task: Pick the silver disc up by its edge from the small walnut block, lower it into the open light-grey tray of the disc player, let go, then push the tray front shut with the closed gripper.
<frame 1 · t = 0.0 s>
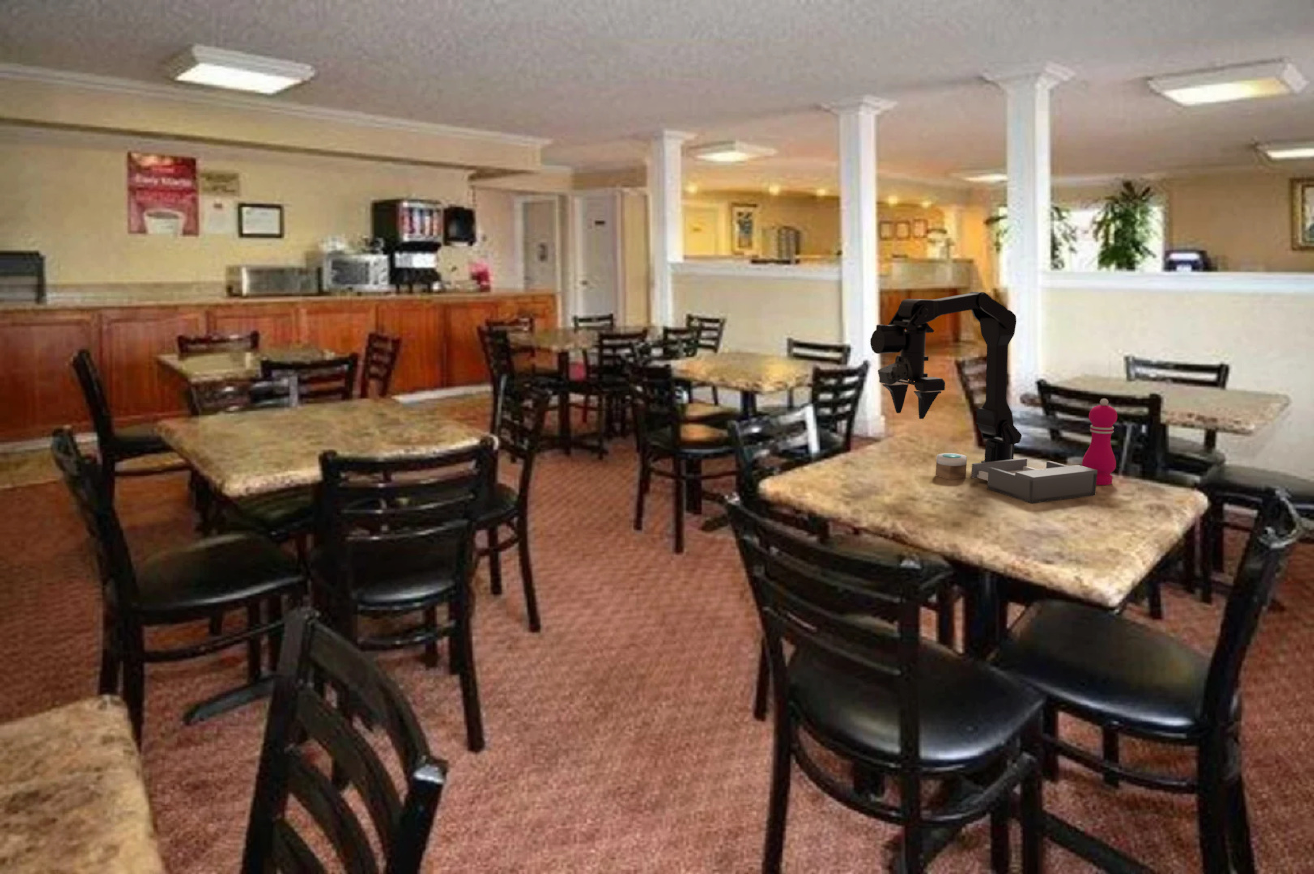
hand: (909, 415, 224), 15 cm above the table, tool pointing down, fingers open, 9 cm apart
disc: (951, 462, 223), point 3 cm above the table, touching block
pepper mill: (1097, 483, 217), on the table
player: (1040, 491, 209), on the table
block: (950, 476, 224), on the table
tray: (1018, 473, 215), point 3 cm above the table, slide at 6.0 cm
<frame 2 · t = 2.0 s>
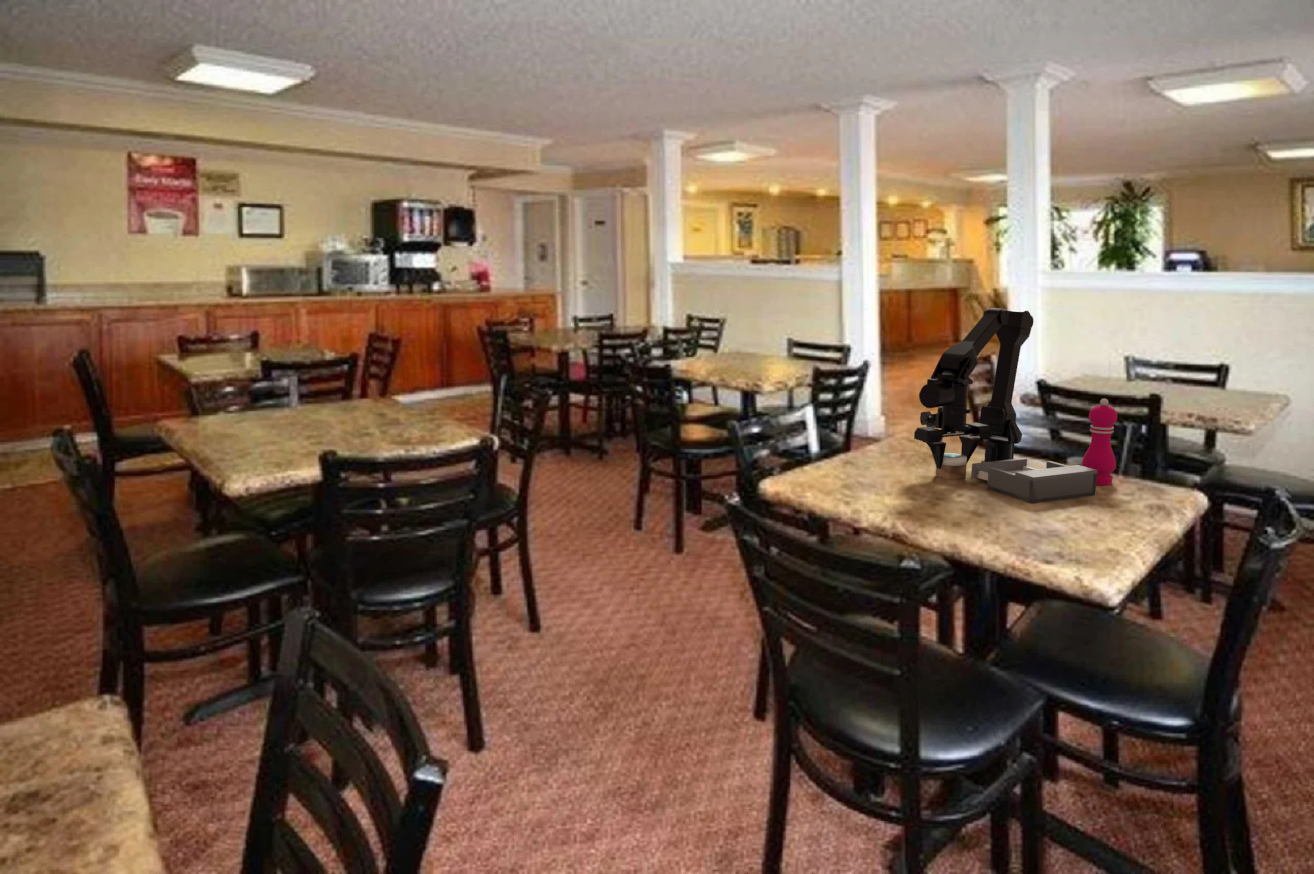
hand: (951, 467, 224), 2 cm above the table, tool pointing down, fingers closed on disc, 7 cm apart
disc: (951, 462, 223), point 4 cm above the table, touching block, gripper
everything else where it was.
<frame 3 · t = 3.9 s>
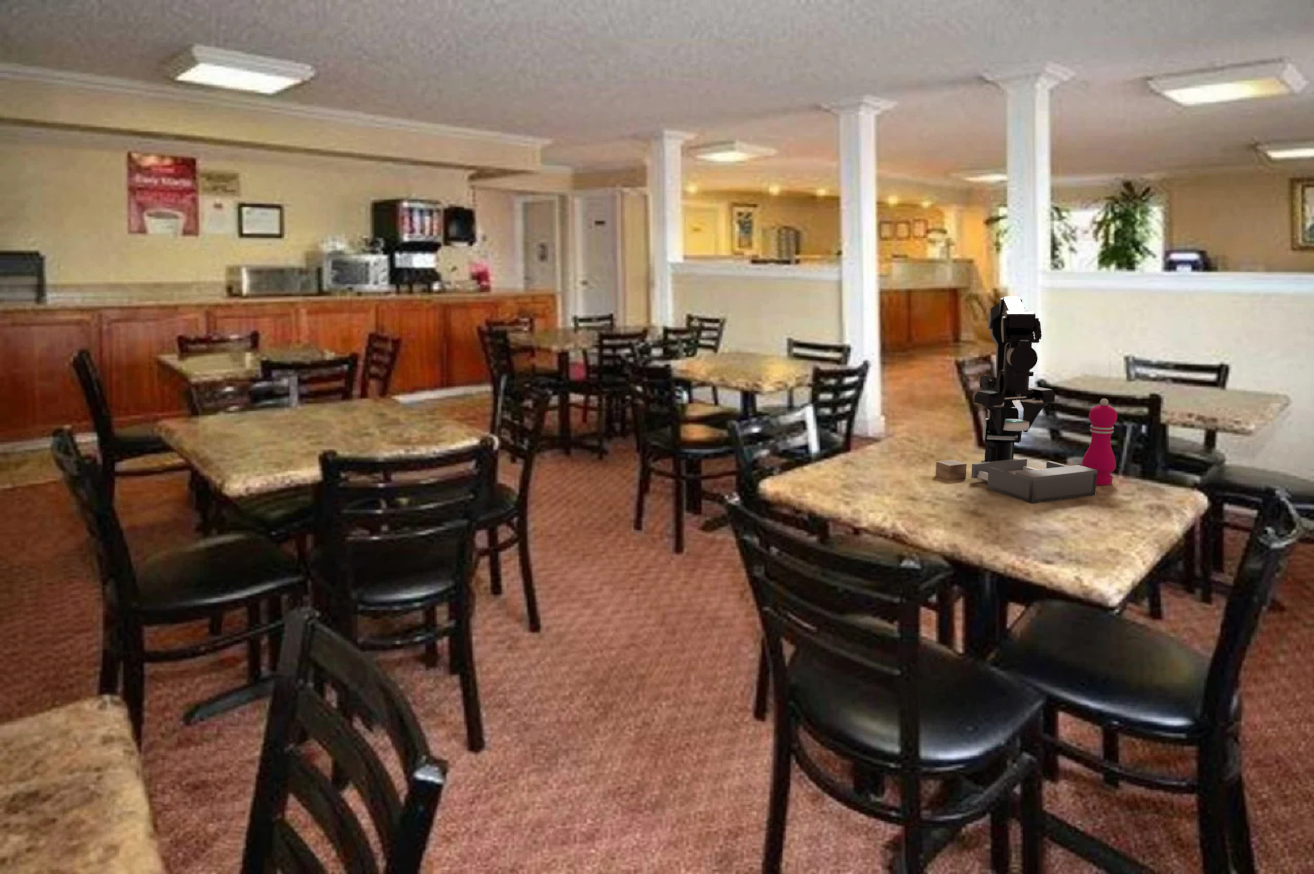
hand: (1012, 433, 215), 12 cm above the table, tool pointing down, fingers closed on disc, 7 cm apart
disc: (1012, 428, 214), point 13 cm above the table, touching gripper
everything else where it was.
when the fingers open (3 cm above the table, at t = 5.9 s): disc drops 2 cm, resting on tray.
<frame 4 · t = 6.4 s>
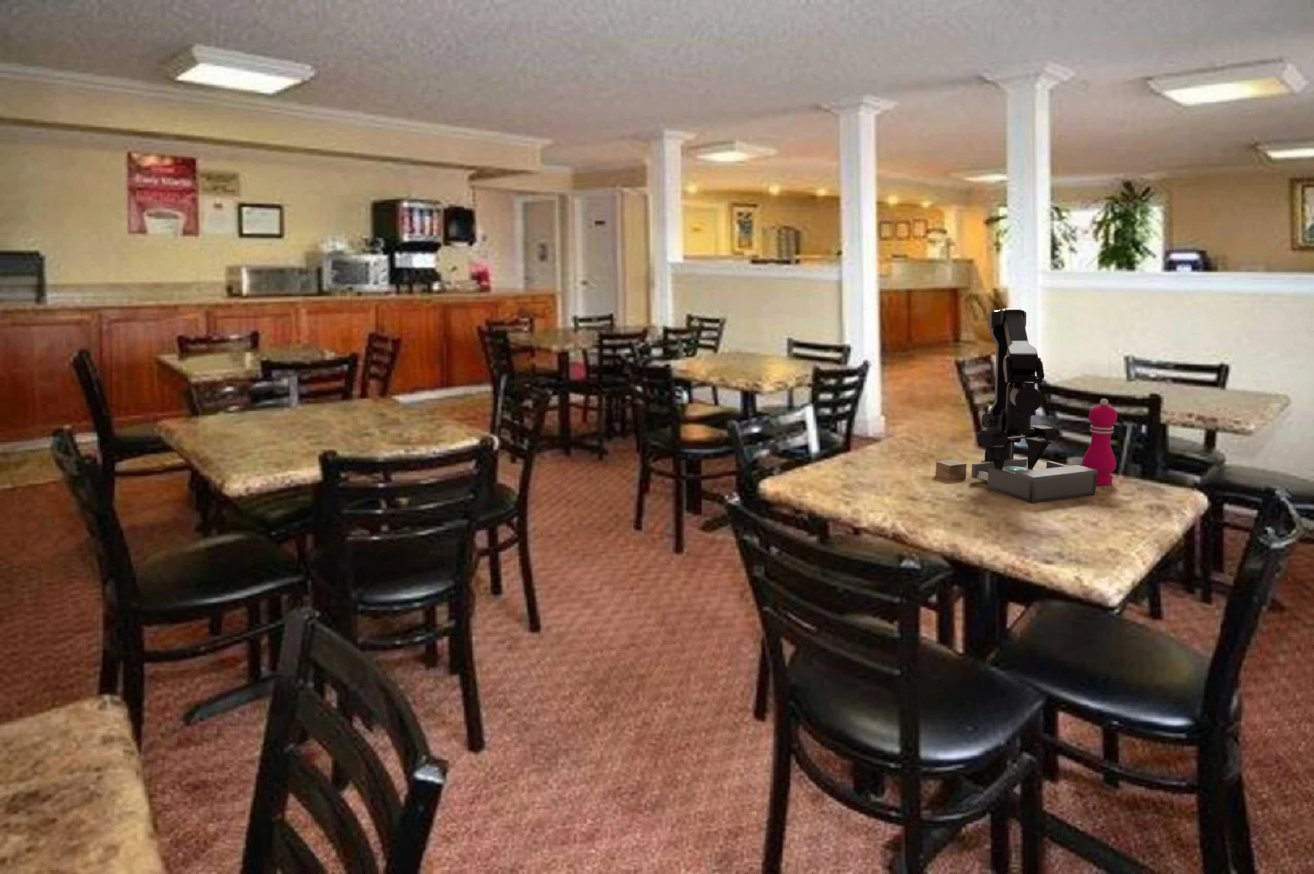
hand: (1014, 471, 216), 3 cm above the table, tool pointing down, fingers open, 9 cm apart
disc: (1014, 476, 216), point 2 cm above the table, touching tray
tray: (1018, 473, 215), point 3 cm above the table, slide at 6.0 cm, touching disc
everything else where it was.
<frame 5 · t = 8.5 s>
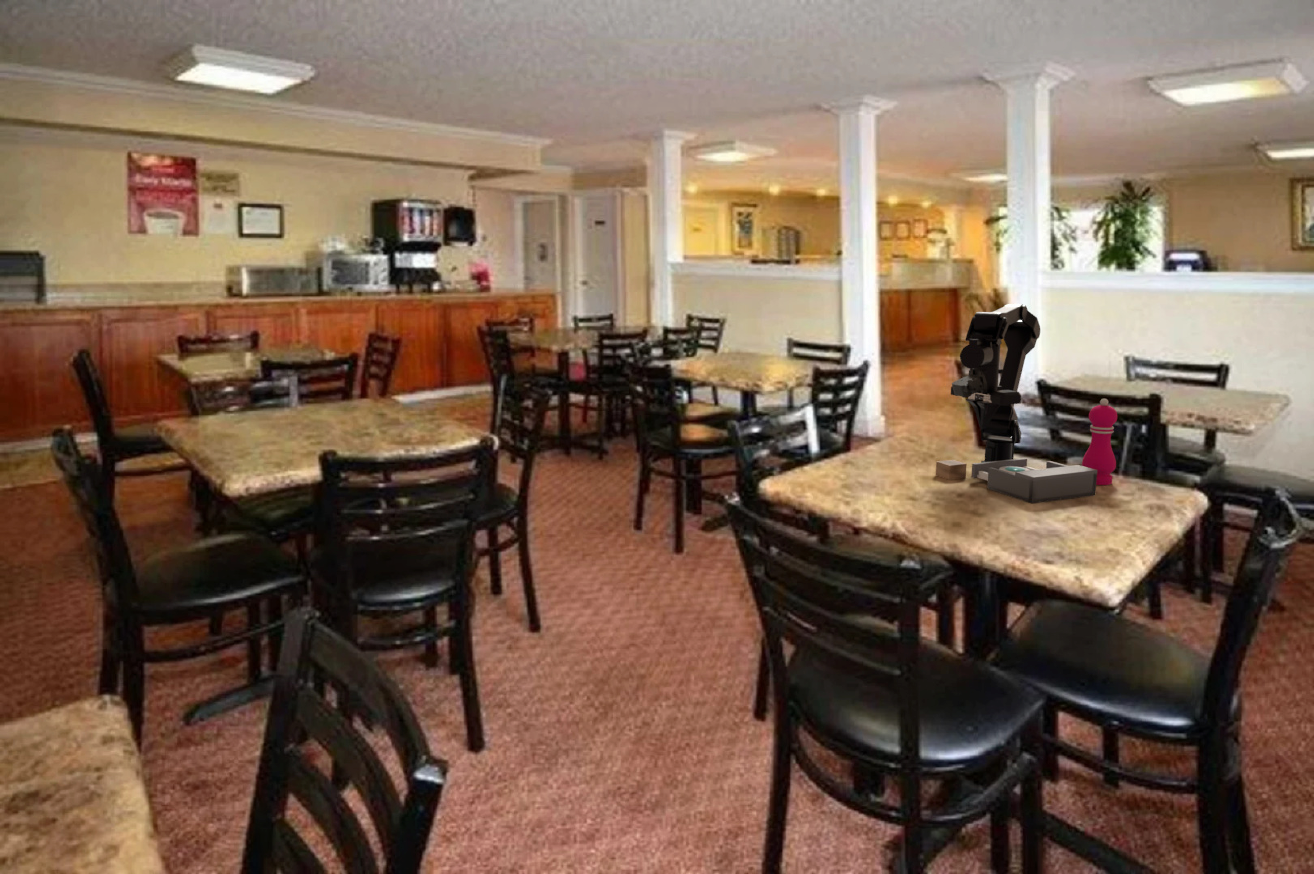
hand: (982, 428, 224), 12 cm above the table, tool pointing down, fingers closed
nothing on the table moved.
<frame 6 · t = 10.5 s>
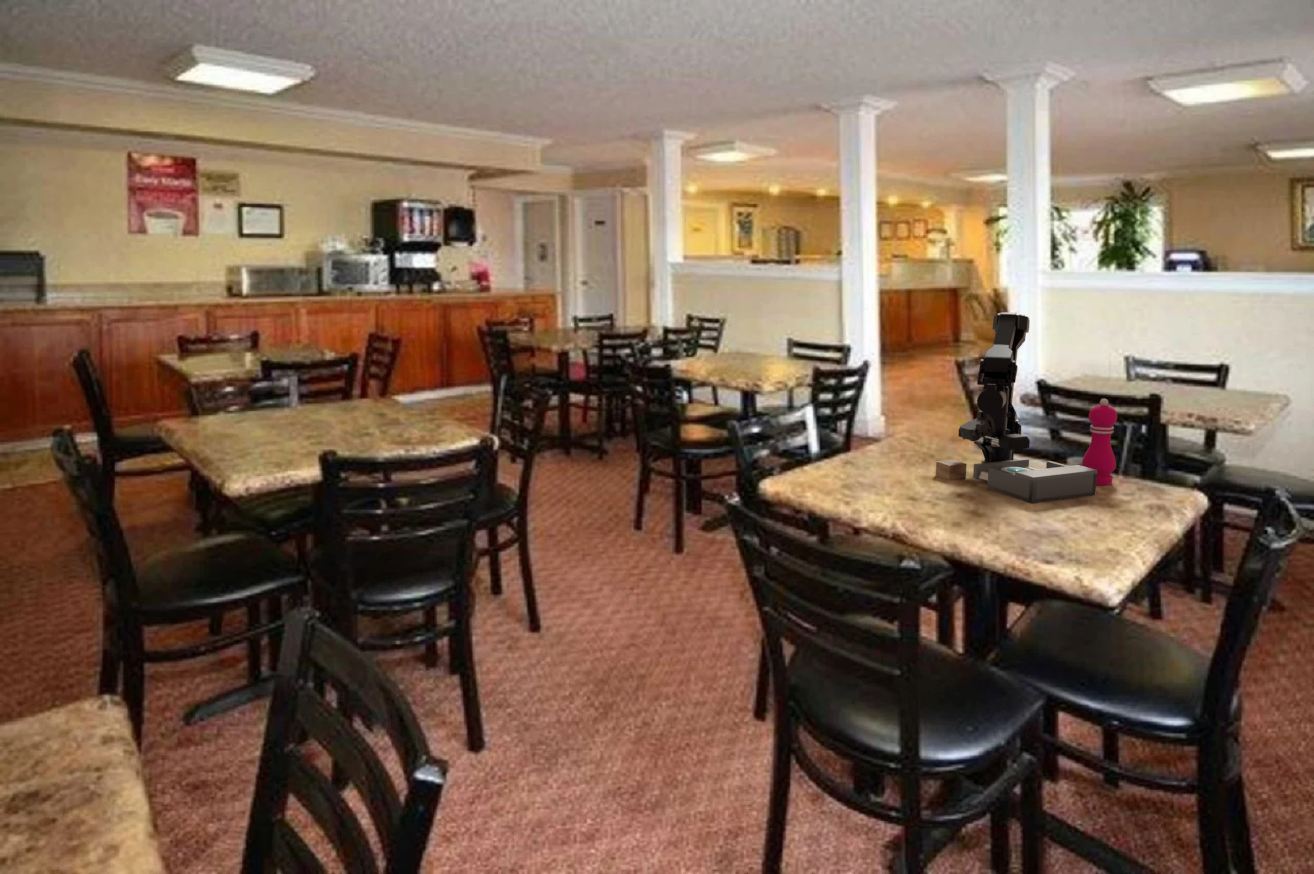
hand: (990, 471, 222), 2 cm above the table, tool pointing down, fingers closed
tray: (1020, 474, 214), point 3 cm above the table, slide at 5.4 cm, touching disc, gripper
everything else where it was.
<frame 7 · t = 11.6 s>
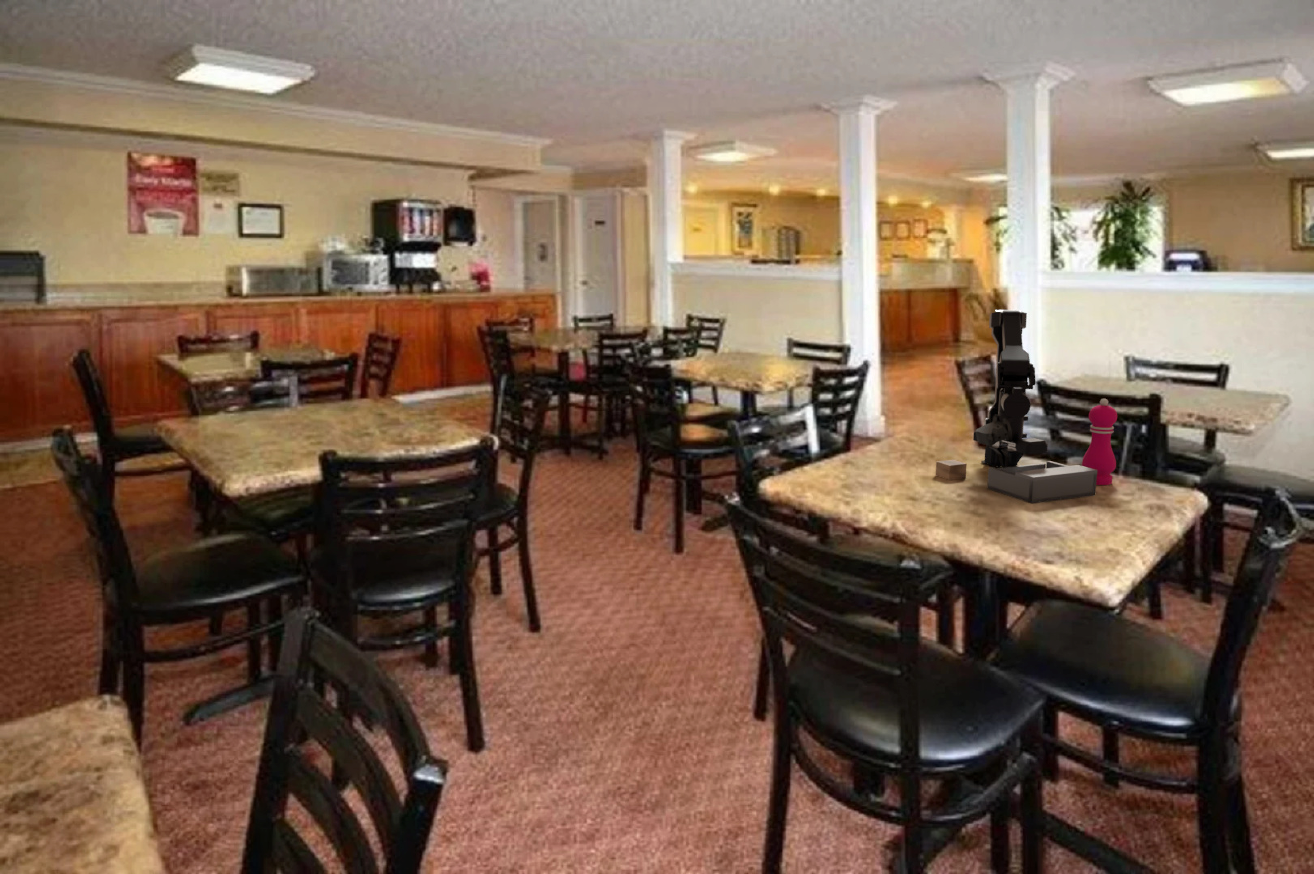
hand: (1006, 476, 217), 2 cm above the table, tool pointing down, fingers closed
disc: (1033, 481, 211), point 2 cm above the table, touching tray
tray: (1037, 479, 209), point 3 cm above the table, slide at 0.0 cm, touching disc, gripper
everything else where it was.
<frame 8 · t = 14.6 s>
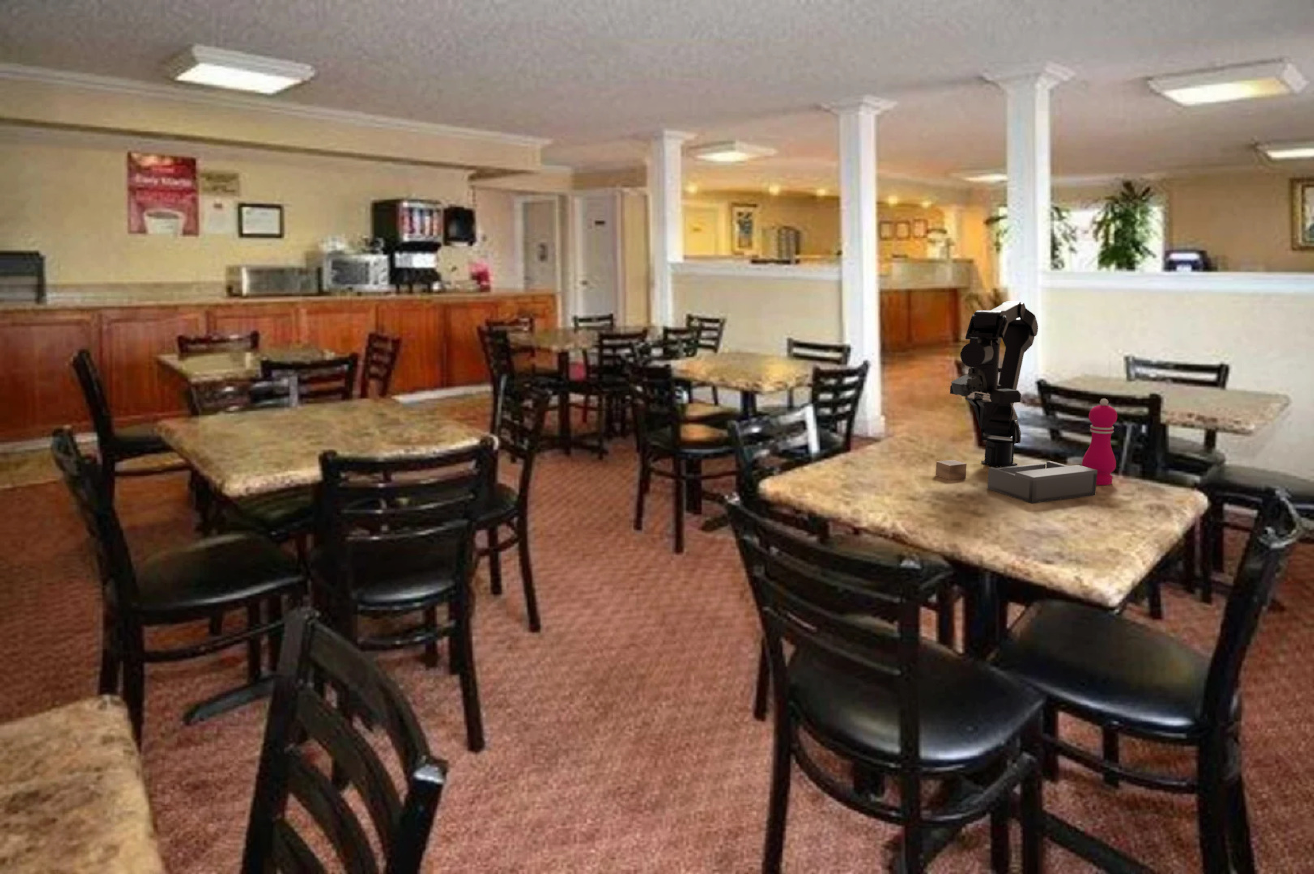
hand: (982, 427, 222), 12 cm above the table, tool pointing down, fingers closed
tray: (1037, 479, 210), point 3 cm above the table, slide at 0.0 cm, touching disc
everything else where it was.
at the end: tray slide at 0.0 cm; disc inside the target area (2.4 cm from its centre), point 1.8 cm above the table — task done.
